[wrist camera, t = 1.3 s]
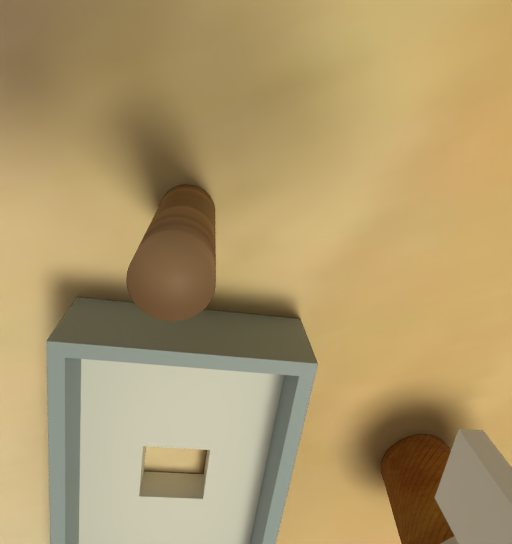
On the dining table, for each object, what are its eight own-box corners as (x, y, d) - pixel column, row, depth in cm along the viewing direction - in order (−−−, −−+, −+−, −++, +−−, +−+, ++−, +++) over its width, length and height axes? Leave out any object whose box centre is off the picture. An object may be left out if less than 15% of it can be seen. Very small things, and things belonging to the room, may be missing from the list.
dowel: (162, 181, 28) (128, 235, 17) (218, 188, 29) (220, 246, 18) (158, 234, 30) (124, 317, 18) (211, 241, 30) (210, 325, 19)
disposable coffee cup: (363, 508, 41) (419, 663, 30) (362, 427, 37) (424, 567, 26) (463, 493, 41) (555, 640, 30) (471, 411, 38) (579, 543, 27)
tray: (77, 297, 31) (46, 341, 25) (300, 318, 33) (317, 363, 27) (74, 557, 40) (51, 632, 34) (249, 561, 42) (254, 631, 36)
